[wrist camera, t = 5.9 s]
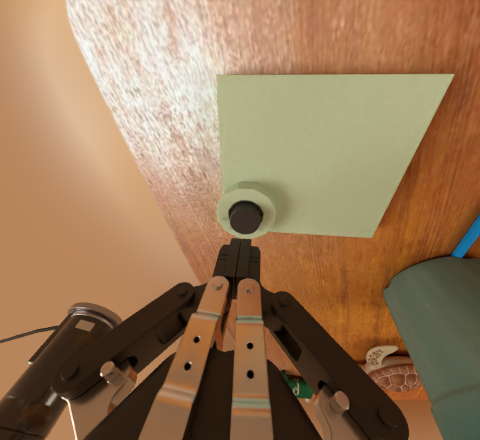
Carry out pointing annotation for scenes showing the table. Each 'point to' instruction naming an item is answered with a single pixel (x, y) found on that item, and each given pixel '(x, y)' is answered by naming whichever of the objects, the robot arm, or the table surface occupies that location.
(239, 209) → the dark brown knob
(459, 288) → the flower pot
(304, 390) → the gaming controller
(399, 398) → the table surface
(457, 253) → the pen
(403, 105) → the scale
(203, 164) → the table surface
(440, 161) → the table surface
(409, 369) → the decorative turtle
